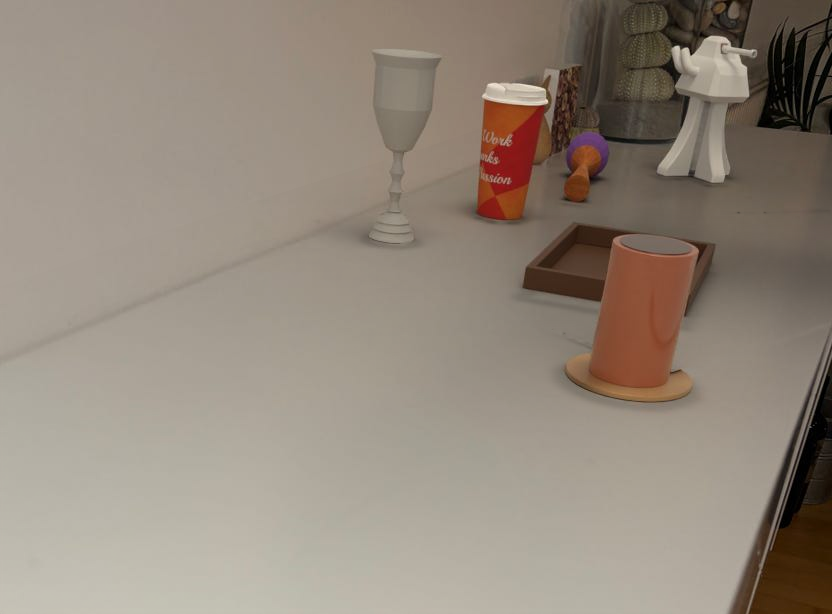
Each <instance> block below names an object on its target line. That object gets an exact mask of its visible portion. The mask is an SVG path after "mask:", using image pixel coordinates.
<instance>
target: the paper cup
mask: <svg viewBox="0 0 832 614" xmlns="http://www.w3.org/2000/svg"><path fill="white" fill-rule="evenodd" d="M481 98H482V99H484V102H483V112H482V113H483V114H482V125H481V126H482V129H481V140H480V141H481V142H480V154H479V155H480V156H479V168H478V169H479V170H478V186H477V202H476V206H477V207H476V212H477V214H478V215H480V216H483V217H486V218H489V219H496V220H518V219H521V218H523V214H524V209H525V205H526V201H527V197H528V191H529V187H530V182H531V176H532V172H533V167H534V162H535V158H536V151H537V146H538V141H539V138H540V132H541V128H542V122H543V117H544V112H545V107H546V105H548V104H549V100H548V99H547V90H546V88H544V87H541V86H537V85H531V84H525V83H516V82H515V83H514V82H512V83H510V82H500V83H497V82H490V83H488V84H487V85H486V88H485V92H484V93H483V94H482V96H481Z"/></svg>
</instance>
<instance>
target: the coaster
mask: <svg viewBox="0 0 832 614" xmlns="http://www.w3.org/2000/svg"><path fill="white" fill-rule="evenodd" d="M590 356H591V352H588V353H582V354H578V355H576V356H574V357H571V358H570V359H569V360H568V361H567V362H566V365H565V373H566V376H567V377H568V379H569V380H571V381H572V382H573V383H575V384H576V385H578V386H580V387H582V388H583V389H585V390H588V391H590V392H593V393H596V394H599V395H602V396H604V397H605V396H606V397H610V398H614V399H619V400H624V401H625V400H626V401H633V402H650V403H651V402H653V403H654V402H667V401H672V400H678V399H680V398H683V397H685V396H686V395H688V394H689V393H690V392H691V389H692V386H693V380H692V378H691V377H690V375H688V373H686V372H685V371H684V370H683V369H676V370H674V371H670V376H669V380H668V381H667V382H666V383H665V384H663V385H661V386H657V387H649V388H637V387H627V386H621V385H617V384H613V383H609V382H606V381H604V380H601V379H599V378H597V377H596V376H594V375H593V374H591V372H590V371H589V369H588V366H589V361H590Z"/></svg>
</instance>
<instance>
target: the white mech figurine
mask: <svg viewBox="0 0 832 614" xmlns="http://www.w3.org/2000/svg"><path fill="white" fill-rule="evenodd" d="M670 53H671V55H672V62H673V64H674V68H675V70H676V71H677V72H678V73H679V74H681V75H680V76H679V78H678V80H677V81H676V83H675V86H674V89H675V91H676V92H677V94H678V95H682V96H686V97H690V98H689V102H688V106H687V111H686V114H685V118H684V121H683V124H682V126H681V128H680V131H679V133H678V135H677V137H676V139H675V141H674V143H673V144H672V146H671V148H670V149H669V151H667V152H668V153H667V154H666V155H665V156H664V158H663V159H662V161H661V162H660V163H659V164H658V166H657V169H656V174H657V175H661V176H663V177H688V176H689V177H694V178H697V179H699V180H703V181H705V182H708V183H712V184H723V183H724V182H725V178H726V176H730V172H731V164H730V162H729V159H728V154H727V150H726V139H725V138H726V137H725V136H726V135H725V126H726V120H727V112H728V108H729V103H731V104H732V103H733V104H735V103H736V104H737V103H738V104H743V103H745V101H746V100H747V99H748V98H750V87H749V79H748V66H746V65H745V64H743V63H742V60H741V56H745V57H749V58H750V59H755V58H756V57H757V55H758V50H757V49H744V48H739V47H733V46H732V43H731V41H730V40H728V38H727V37H726V36H720V35H710V36H708V37H706V38H704V39H703V41H702V42H701V45H700V46H699V47H698V48H697V49H696V51H694V53H693V54H692V55H691V52H690V49H689V47H683V48H682V49H681V46H680V45H675V46H673V47H671V49H670Z"/></svg>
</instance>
